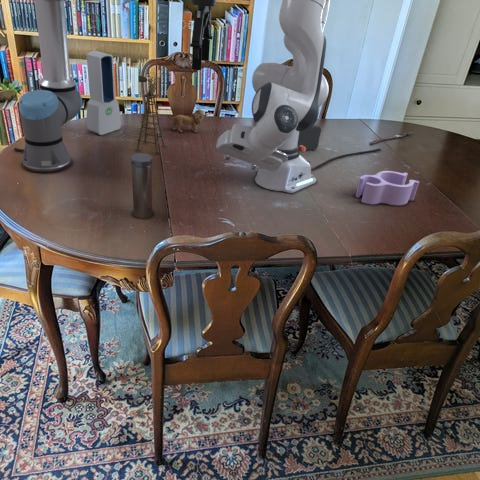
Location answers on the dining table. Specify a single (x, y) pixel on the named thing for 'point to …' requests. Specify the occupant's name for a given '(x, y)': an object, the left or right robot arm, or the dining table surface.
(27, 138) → the left robot arm
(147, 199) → the jar
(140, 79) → the miniature windmill
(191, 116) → the lion figurine
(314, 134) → the handheld gaming console
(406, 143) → the dining table surface
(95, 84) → the electronic device
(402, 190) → the clip
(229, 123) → the dining table surface
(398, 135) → the sword
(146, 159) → the lid
